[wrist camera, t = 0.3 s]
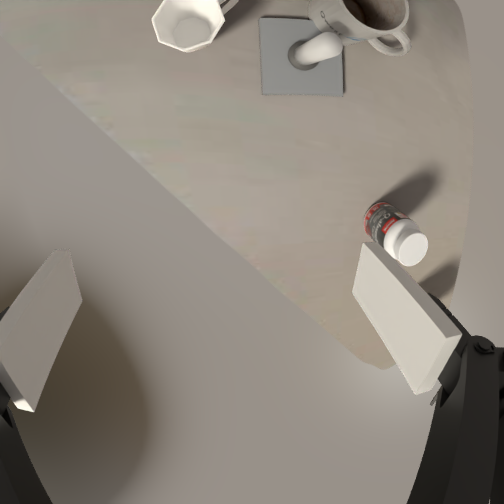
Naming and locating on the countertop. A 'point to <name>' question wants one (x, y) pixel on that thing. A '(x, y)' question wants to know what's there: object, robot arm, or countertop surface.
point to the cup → (189, 22)
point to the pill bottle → (396, 233)
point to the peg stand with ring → (299, 58)
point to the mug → (363, 21)
